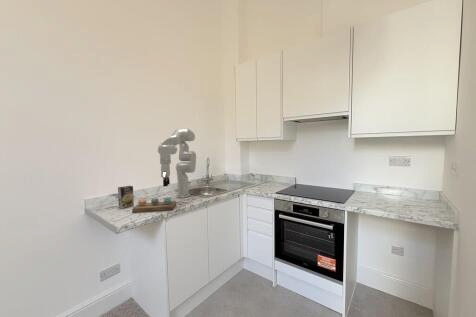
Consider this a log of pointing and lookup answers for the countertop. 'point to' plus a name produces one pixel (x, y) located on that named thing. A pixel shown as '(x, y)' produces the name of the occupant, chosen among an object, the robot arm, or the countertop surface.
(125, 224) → the countertop surface
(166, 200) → the button teal one
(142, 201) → the button terracotta two
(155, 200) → the button charcoal three
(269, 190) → the countertop surface
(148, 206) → the button panel
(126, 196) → the coffee box
